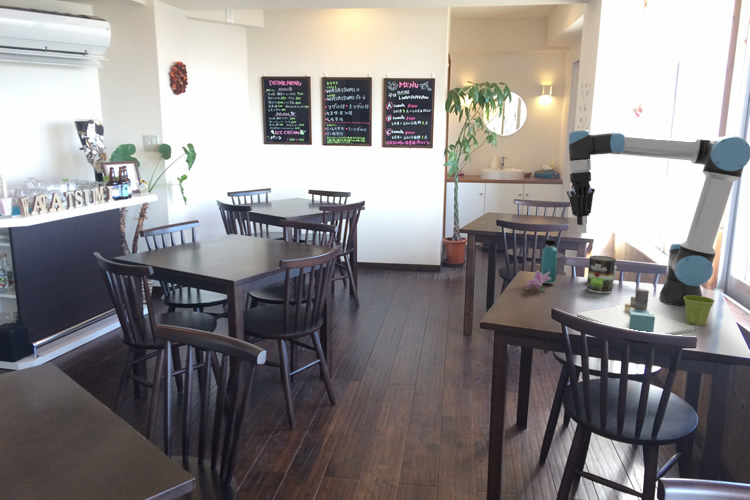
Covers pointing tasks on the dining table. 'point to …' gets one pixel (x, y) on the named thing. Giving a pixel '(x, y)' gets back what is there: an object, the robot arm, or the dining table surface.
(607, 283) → the coffee can
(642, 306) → the link
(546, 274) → the lily
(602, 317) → the base board
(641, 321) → the block
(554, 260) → the beverage bottle
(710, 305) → the plant pot
